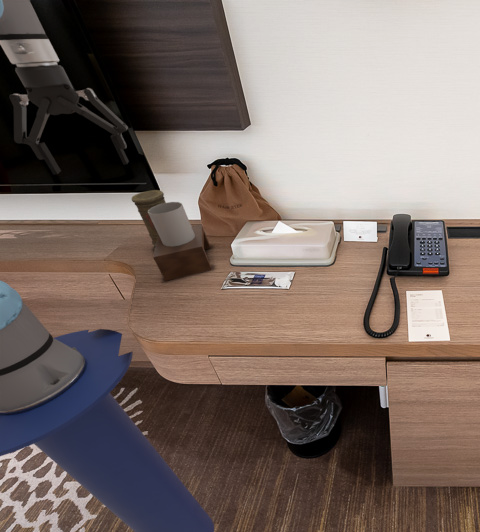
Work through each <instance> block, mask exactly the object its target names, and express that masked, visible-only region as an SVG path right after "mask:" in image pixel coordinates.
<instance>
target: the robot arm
mask: <svg viewBox="0 0 480 532" xmlns="http://www.w3.org/2000/svg"><path fill="white" fill-rule="evenodd" d="M47 35H48V34H46V31H45V30H44V28H43V25H42V23H41V21H40V20H39V17H38V15H37V13H36V11H35V9H34V7H33V5H32V3H31V0H0V46H1V48H2V50H3V52H4V54H5V55H6V57H7V59H8V60H9V62H10V63H11V65H15V66H16V67H15V69H14V71H15V73H16V74H17V76H18V78H19V80H20V82H21V83H22V85H23V87H24V88H25V90H26V93H27V94H20V93H17V92H16V93H13V94H9V97H8V98H9V100H10V102H11V104H12V106H13V142H15V143H16V144H24V145H28V147H30V148H31V150H32V151H33V153H34V154H35V156H36V158H37V159H38V160H40V161H41V160H44V162H45V163H46V165H47V166H48V168H49V170H50V171H51V173H52V175H55V176H56V175H58V174H60V173H61V172H62V170H61V167H59V164H58V163H57V162H56V160H55V158H54V156H53V154H52V153H51V151H50V150H49V148H48V146H47V144H46V142H40V139H41V137H42V134H43V132H44V129H45V127H46V124H47V121H48V119H49V117H50V115H53V116H59V115H61V114H63V115H72V114H74V113H77V114H78V115H79V116H82V117H84V118H85V119H87V120H89V121H90V122H91V123H93V124H95V125H97V126H99V128H102V129H103V130H105V131H107V132H108V133H110V134H111V135H110V137H109V138H110V140H111V142H112V144H113V146H114V148H115V150H116V152H117V154H118V156H119V158H120V160H121V162H122V165H124V166H125V165H128V163H129V162H130V160H129V158H128V156H127V155H126V152H125V150H126V149H127V143H126V141H125V139H124V136H123V134H122V133H125V132H127V131H128V129H129V126H128V125H127V124H126V123H125V122H124V121H123V120H122V119H120V118H119V116H117V115H116V114H115V112H113V111H112V110H111V109H110V108H109V107H108V106H107V105H106V104H104V103H103V101H101V100H100V99H99V97H98V96H97V94H96V93H95V91H94V90H93V88H91V87H87V88H84V89H82V90H77V89H76V88H75V87H74V86H73V84H72V82H71V80H70V79H69V76H68V75H67V72H66V71H65V69H64V67H63V66H62V65H60V64H58V63H59V62H60V59H59V57H58V54H57V52H56V51H55V49H54V46H53V45H52V43H51V41H50V39H49V37H48V36H47ZM81 98H83V99H84V100H85V101H88V102H90V103H91V104H92V106H94V107H95V109H97V110H98V111H99V113H101V114H102V115H103V116H105V118H107V119H108V121H107V120H105V119H104V118H102V117H101V116H99V115H97V114H96V113H94V112H92V111H91V110H90V109H88V108H87V107H86V106H84V105H82V104H81V103H80V99H81ZM29 101H30V102H31V103H32V104H34V105H35V106H36V107H38V109H37V111H36V116H35V118H34V121H33V123H32V127H31V129H30V132H29V134H28V136H27V106H28V105H29ZM109 121H110V122H111V123H110V122H109ZM54 338H55V337H53V335H52V334H51V333H50V332H49V330H48V329H47V328H46V327H45V326H44V324H42V322H41V321H40V320H39V318H38V317H37V316H36V315H35V313H34V312H33V311H32V310H31V309H30V308H29V306H28V305H27V304H26V303H25V302H24V300H23V299H22V297H21V295H20V294H19V292H18V291H17V289H14V288H13V287H12V286H11V285H10V284H8V283H7V282H5V281H3V280H0V415H14V414H19V413H23V412H27V411H30V410H32V409H35V408H37V407H40V406H42V405H44V404H46V403H48V402H50V401H51V400H53V399H55V398H56V397H58V396H60V395H61V394H63V393H64V392H65V391H67V390H68V389H69V388H70V387H71V386H73V385H74V384H75V383H76V382H77V381H78V380H79V378H80V377H81V376H82V375H83V373H84V371H85V369H86V366H87V362H86V359H85V358H84V357H83V355H82V354H81V353H79V352H78V351H77V349H76V348H75V347H74V348H71V347H69V346H67V345H65V344H64V343H62V342H60V341H58V340H56V339H54Z"/></svg>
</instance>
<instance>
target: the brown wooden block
mask: <svg viewBox="0 0 480 532" xmlns="http://www.w3.org/2000/svg"><path fill="white" fill-rule="evenodd" d="M191 227H192V229H193V232H194V234H195V238H194V239H193V240H191V241H190V242H188V243H185V244H182V245H179V246H173V247H172V246H165V245H163V243H162V241H161V239H160V236H159V234H158V239H157V243H156V247H155V249H154V252H153V256H152V259H153V260H154V262H155V264H156V265H157V268H158V269H159V271H160V273H161V275H162V277H163V279H164V281H165V282H167V281H171V280H175V279H179V278H184V277H187V276H191V275H195V274H199V273H203V272H207V271H210V270H211V271H212V265H211V263H210V260H209V258H208V255H207V253H206V250H208V249H209V250H210V249H211V244H210V242H209V241H210V240H209V239H208V236H207V234H206V231H205V229H204V226H203V224H195V225H191Z"/></svg>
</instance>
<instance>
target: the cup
mask: <svg viewBox="0 0 480 532" xmlns="http://www.w3.org/2000/svg"><path fill="white" fill-rule="evenodd" d="M148 214H149V216H150V218H151V220H152V222H153V224H154V226H155V228H156V230H157V232H158V234H159V236H160V239H161V241H162V243H163V245H165V246H172V247H173V246H179V245H182V244H185V243H188V242H190V241H191V240H193V239H194V238H195V234H194V232H193V229H192V227H191V226H192V224H191V221H190V219H189V217H188V215H187V212H186V209H185V208H184V206H183V203H182V202H180V201H170V202H166V203H163V204H159V205H156V206H154V207H152V208H150V209H149V210H148Z"/></svg>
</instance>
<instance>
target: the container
mask: <svg viewBox="0 0 480 532" xmlns="http://www.w3.org/2000/svg"><path fill="white" fill-rule="evenodd" d="M164 195H165V193H164V192H163V191H162V190H159V189H152V190H146V191H141V192H139V193H136V194H134V195H132V196H131V201H132V203H134V205H135V207H136V208H137V212H138V213H139V216H140V217H141V220H142V221H143V223H144V226H145V227H146V230H147V232H148V236H149V238H150V239H151V245H152V246H153V250H155V247H156V243H157V239H158V232H157V230H156V228H155V226H154V224H153V222H152V220H151V218H150V216H149V214H148V210H149V209H150V208H152V207H154V206H156V205H159V204H163V203H167V202H166V200H165V196H164Z"/></svg>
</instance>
